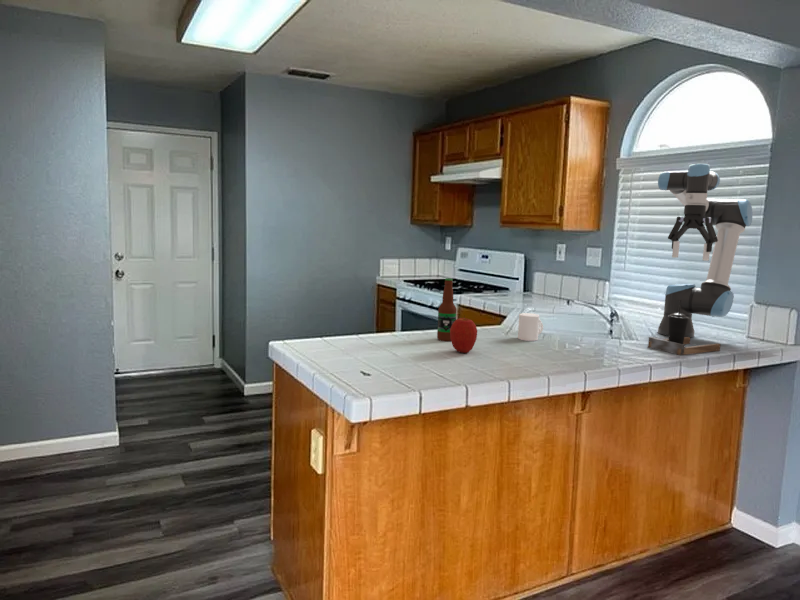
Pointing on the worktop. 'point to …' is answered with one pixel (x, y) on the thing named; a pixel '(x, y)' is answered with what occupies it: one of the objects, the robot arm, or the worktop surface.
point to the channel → (680, 346)
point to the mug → (529, 327)
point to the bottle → (446, 312)
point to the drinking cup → (677, 326)
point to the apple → (463, 334)
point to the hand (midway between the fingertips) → (690, 259)
